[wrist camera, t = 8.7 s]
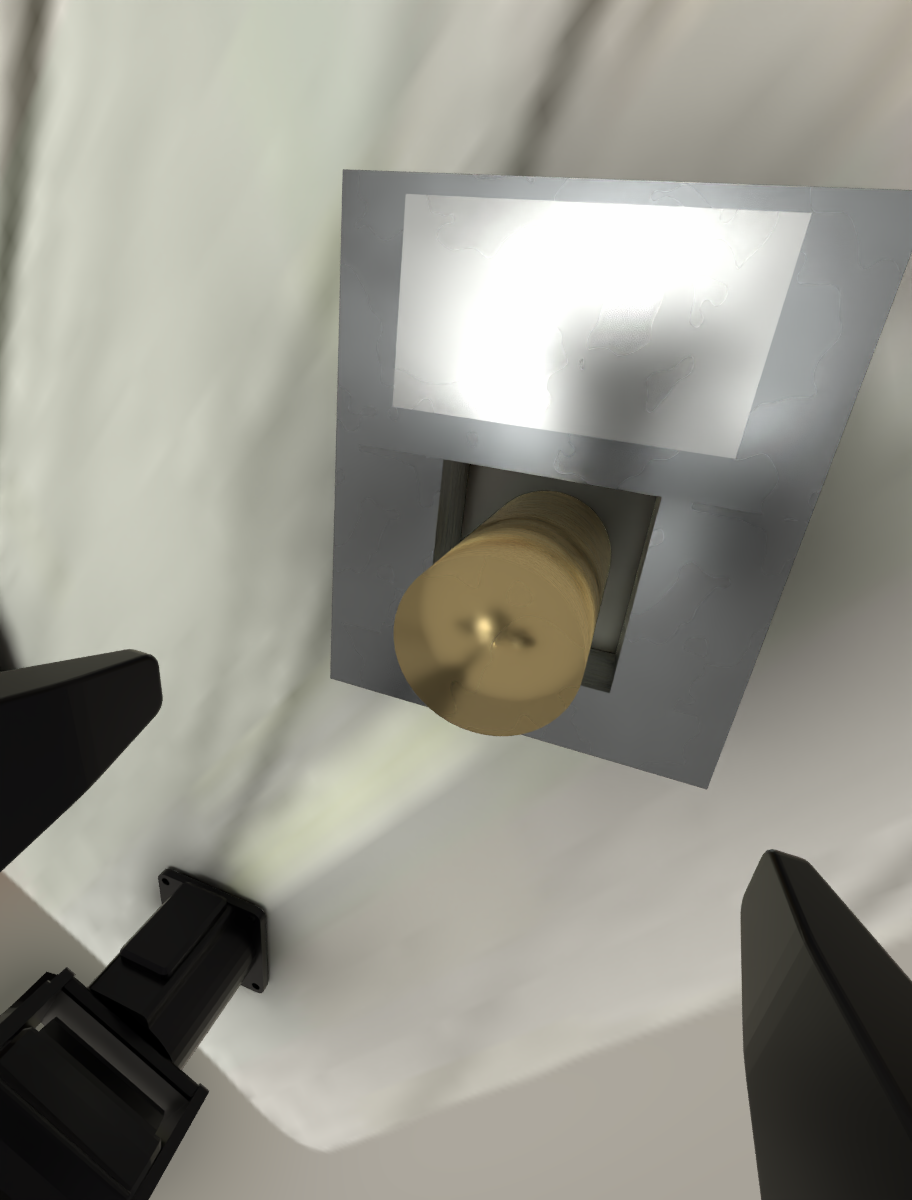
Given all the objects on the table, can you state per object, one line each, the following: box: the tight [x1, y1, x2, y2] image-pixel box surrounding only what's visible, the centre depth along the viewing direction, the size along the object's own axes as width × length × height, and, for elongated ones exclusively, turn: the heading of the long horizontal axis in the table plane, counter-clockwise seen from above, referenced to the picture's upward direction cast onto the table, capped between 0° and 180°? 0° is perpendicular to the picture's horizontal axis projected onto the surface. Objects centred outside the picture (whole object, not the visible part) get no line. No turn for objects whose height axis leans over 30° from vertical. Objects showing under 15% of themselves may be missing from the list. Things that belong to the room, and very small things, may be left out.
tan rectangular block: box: [394, 491, 611, 736], centre depth 14 cm, size 4×4×7 cm
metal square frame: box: [330, 170, 912, 789], centre depth 15 cm, size 14×12×3 cm
